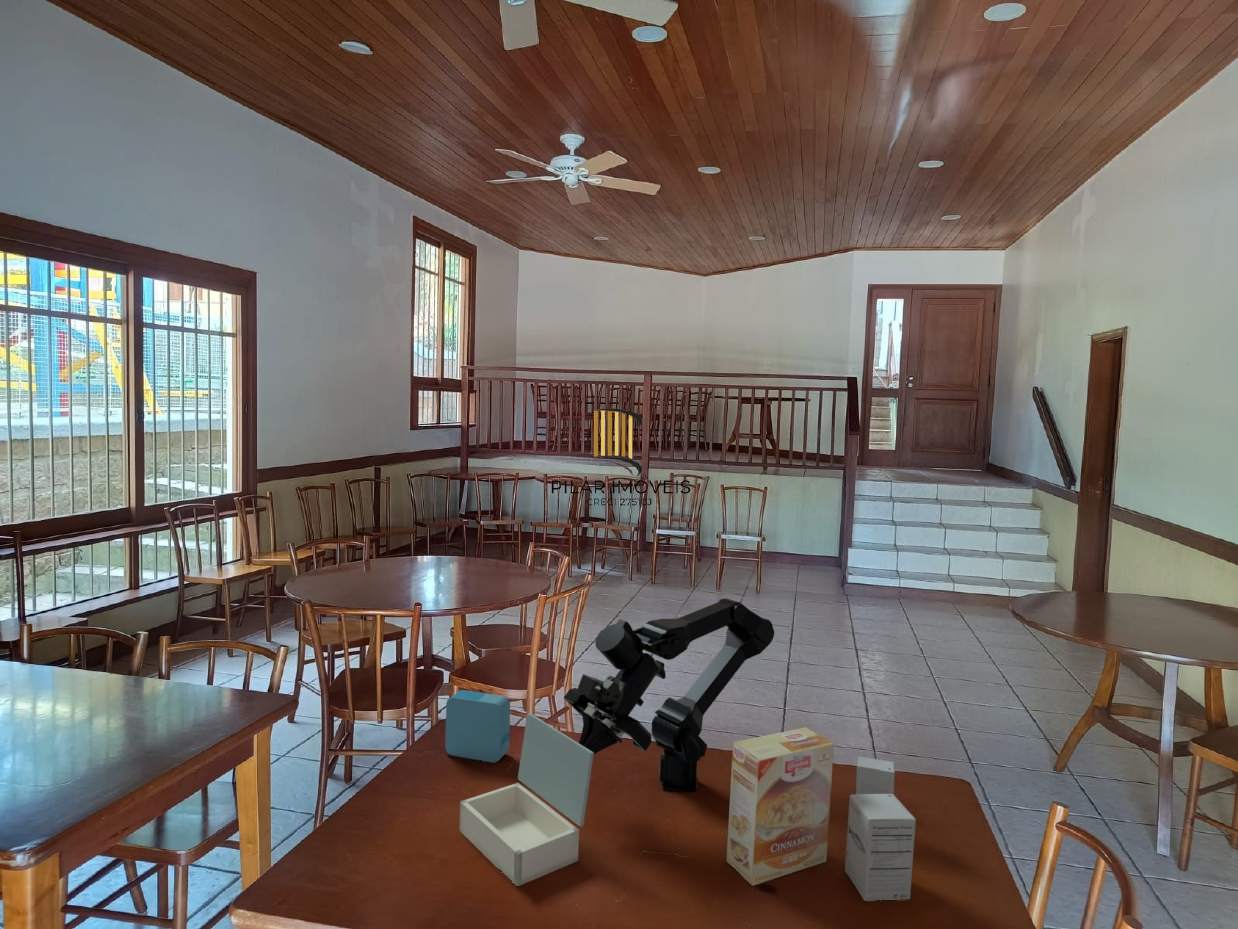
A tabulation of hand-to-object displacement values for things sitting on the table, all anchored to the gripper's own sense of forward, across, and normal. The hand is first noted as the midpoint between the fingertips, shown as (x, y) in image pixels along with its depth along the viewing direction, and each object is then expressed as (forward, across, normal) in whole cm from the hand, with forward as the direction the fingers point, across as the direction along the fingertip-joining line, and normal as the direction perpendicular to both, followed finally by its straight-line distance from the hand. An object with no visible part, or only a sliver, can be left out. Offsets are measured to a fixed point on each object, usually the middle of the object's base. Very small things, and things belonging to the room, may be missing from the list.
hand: (576, 760), depth 127 cm
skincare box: (-20, +31, +36) cm, 52 cm away
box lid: (+3, 0, -4) cm, 5 cm away
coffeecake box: (-6, +27, +22) cm, 35 cm away
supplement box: (-11, +40, +27) cm, 50 cm away
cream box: (+16, 0, 0) cm, 16 cm away
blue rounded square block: (+9, -32, +7) cm, 34 cm away
